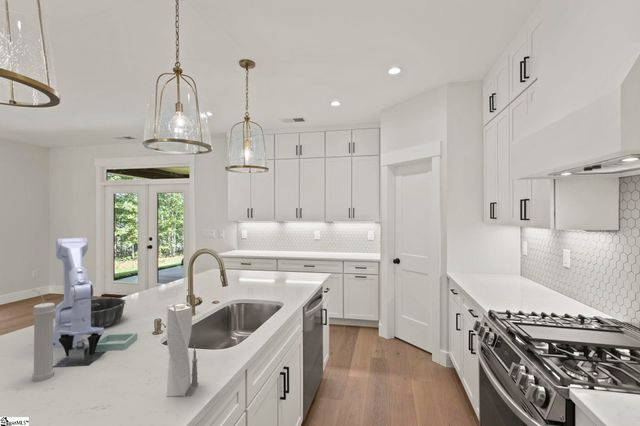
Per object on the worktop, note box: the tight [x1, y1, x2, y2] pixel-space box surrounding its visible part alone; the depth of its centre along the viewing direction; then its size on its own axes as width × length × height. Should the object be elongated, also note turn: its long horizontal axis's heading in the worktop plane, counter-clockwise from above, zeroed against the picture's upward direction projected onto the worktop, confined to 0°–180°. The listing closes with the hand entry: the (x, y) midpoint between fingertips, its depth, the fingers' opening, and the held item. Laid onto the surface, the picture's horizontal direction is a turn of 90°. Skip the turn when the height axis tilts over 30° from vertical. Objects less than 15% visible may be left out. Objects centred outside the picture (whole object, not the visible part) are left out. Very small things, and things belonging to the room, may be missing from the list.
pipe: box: [31, 288, 56, 382], centre depth 102 cm, size 6×6×30 cm
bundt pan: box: [62, 297, 126, 328], centre depth 155 cm, size 26×26×10 cm
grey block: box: [69, 340, 92, 362], centre depth 115 cm, size 5×5×6 cm
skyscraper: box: [165, 301, 199, 398], centre depth 96 cm, size 8×8×28 cm
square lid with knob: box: [53, 351, 108, 369], centre depth 115 cm, size 12×12×4 cm
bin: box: [95, 332, 138, 352], centre depth 128 cm, size 12×11×4 cm
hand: (80, 354), depth 115 cm, fingers open, 7 cm apart
